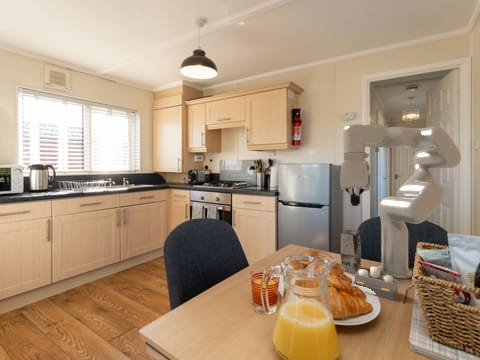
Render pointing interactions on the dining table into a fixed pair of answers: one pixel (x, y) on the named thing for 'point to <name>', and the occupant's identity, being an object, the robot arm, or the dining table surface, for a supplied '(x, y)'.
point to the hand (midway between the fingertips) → (355, 205)
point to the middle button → (375, 272)
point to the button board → (378, 285)
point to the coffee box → (351, 250)
